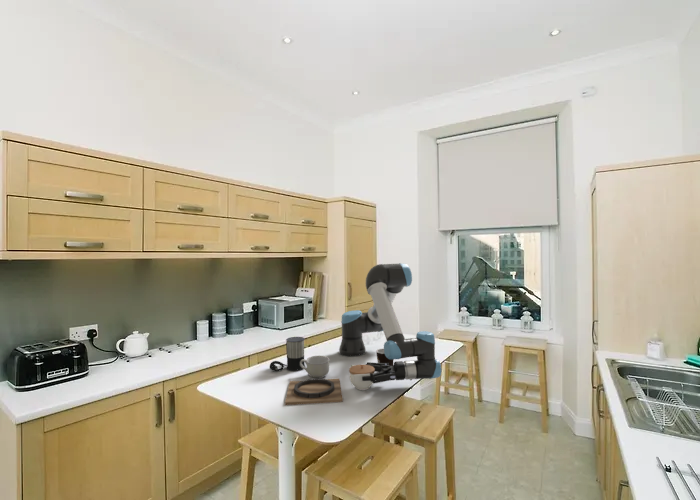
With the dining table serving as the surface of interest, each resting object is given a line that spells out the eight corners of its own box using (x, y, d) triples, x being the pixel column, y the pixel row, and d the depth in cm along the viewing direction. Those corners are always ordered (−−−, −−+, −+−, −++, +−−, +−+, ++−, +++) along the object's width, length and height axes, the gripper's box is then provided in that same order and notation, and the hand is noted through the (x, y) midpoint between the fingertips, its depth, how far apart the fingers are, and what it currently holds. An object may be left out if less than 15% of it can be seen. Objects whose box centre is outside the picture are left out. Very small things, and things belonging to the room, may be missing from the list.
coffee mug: (394, 375, 159) (393, 354, 159) (375, 374, 160) (375, 353, 160) (395, 367, 170) (395, 347, 170) (378, 366, 172) (378, 346, 172)
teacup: (333, 373, 164) (332, 356, 164) (324, 381, 154) (323, 363, 154) (306, 370, 168) (306, 354, 169) (296, 378, 158) (295, 361, 158)
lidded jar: (356, 394, 137) (355, 370, 137) (345, 384, 147) (345, 362, 147) (379, 389, 141) (379, 366, 141) (368, 380, 151) (367, 359, 151)
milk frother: (309, 367, 173) (308, 338, 173) (284, 376, 161) (283, 345, 161) (290, 362, 182) (289, 334, 182) (265, 370, 170) (265, 340, 170)
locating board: (289, 383, 152) (289, 377, 152) (339, 380, 154) (339, 375, 154) (285, 405, 130) (284, 398, 130) (342, 401, 132) (342, 395, 132)
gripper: (411, 390, 134) (355, 393, 132) (397, 369, 157) (350, 372, 155) (411, 371, 134) (355, 374, 132) (397, 353, 157) (349, 355, 155)
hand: (352, 373), depth 144 cm, fingers closed on lidded jar, 11 cm apart
